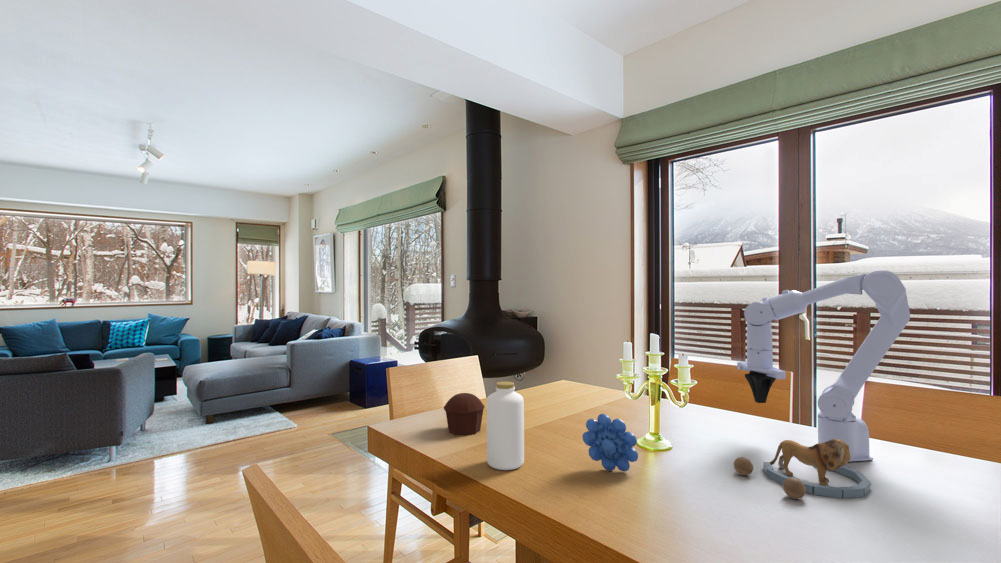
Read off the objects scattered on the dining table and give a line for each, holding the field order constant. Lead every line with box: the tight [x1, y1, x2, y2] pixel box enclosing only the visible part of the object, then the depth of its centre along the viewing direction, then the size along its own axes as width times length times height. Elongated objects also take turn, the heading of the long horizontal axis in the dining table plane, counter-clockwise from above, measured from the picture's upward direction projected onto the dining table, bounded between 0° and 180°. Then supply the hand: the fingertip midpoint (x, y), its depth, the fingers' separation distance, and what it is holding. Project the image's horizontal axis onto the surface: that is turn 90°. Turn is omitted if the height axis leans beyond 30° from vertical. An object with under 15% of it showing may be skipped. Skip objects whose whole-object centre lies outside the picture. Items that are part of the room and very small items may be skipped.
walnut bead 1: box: [733, 456, 754, 476], centre depth 94 cm, size 4×4×4 cm
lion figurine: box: [769, 439, 851, 486], centre depth 93 cm, size 15×5×9 cm, turn 43°
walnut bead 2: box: [782, 477, 807, 500], centre depth 83 cm, size 4×4×4 cm
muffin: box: [443, 392, 486, 437], centre depth 124 cm, size 12×11×10 cm
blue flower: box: [582, 413, 639, 472], centre depth 95 cm, size 12×7×12 cm, turn 70°
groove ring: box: [762, 461, 872, 499], centre depth 91 cm, size 17×15×2 cm
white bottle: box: [486, 381, 525, 471], centre depth 100 cm, size 8×8×18 cm
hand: (760, 402), depth 115 cm, fingers closed
